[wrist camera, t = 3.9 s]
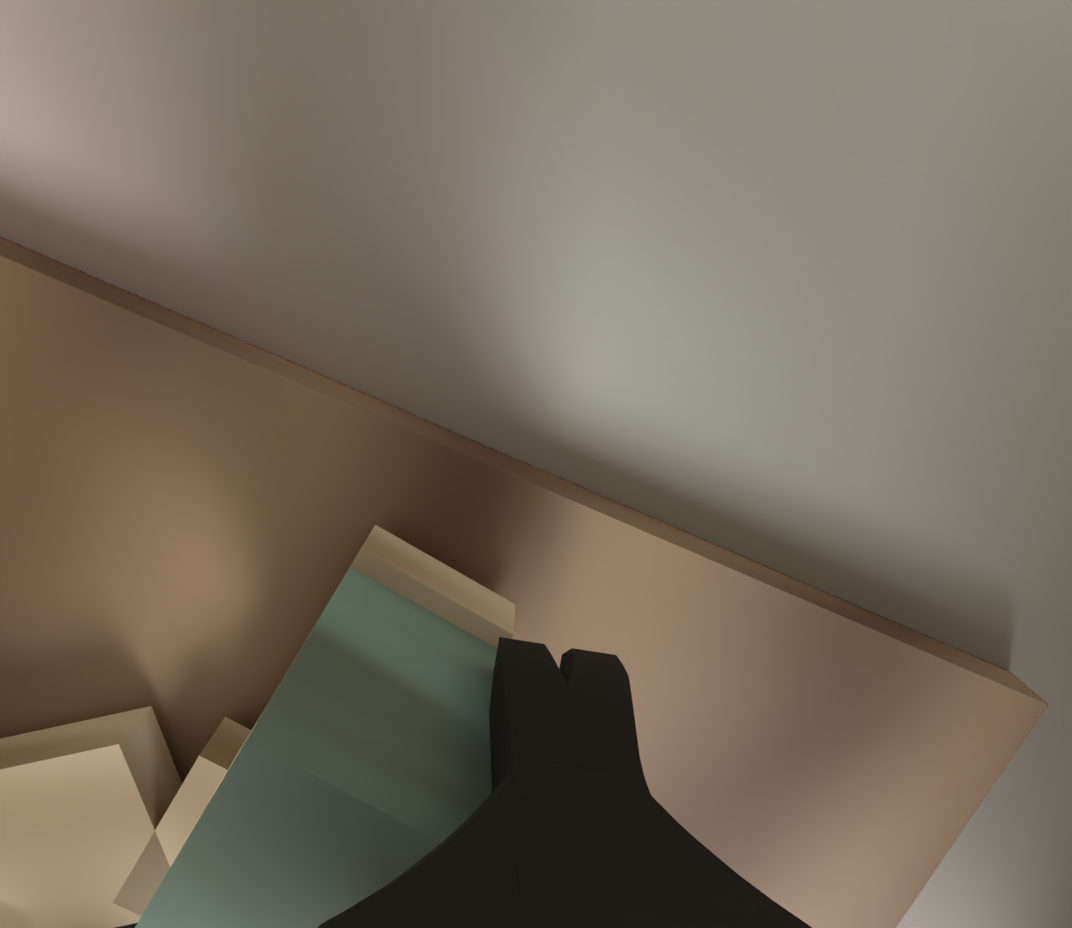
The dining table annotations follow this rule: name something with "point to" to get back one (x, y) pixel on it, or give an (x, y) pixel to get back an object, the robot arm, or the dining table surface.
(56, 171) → the dining table surface
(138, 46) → the dining table surface
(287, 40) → the dining table surface
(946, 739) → the post board
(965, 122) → the dining table surface
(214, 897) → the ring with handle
